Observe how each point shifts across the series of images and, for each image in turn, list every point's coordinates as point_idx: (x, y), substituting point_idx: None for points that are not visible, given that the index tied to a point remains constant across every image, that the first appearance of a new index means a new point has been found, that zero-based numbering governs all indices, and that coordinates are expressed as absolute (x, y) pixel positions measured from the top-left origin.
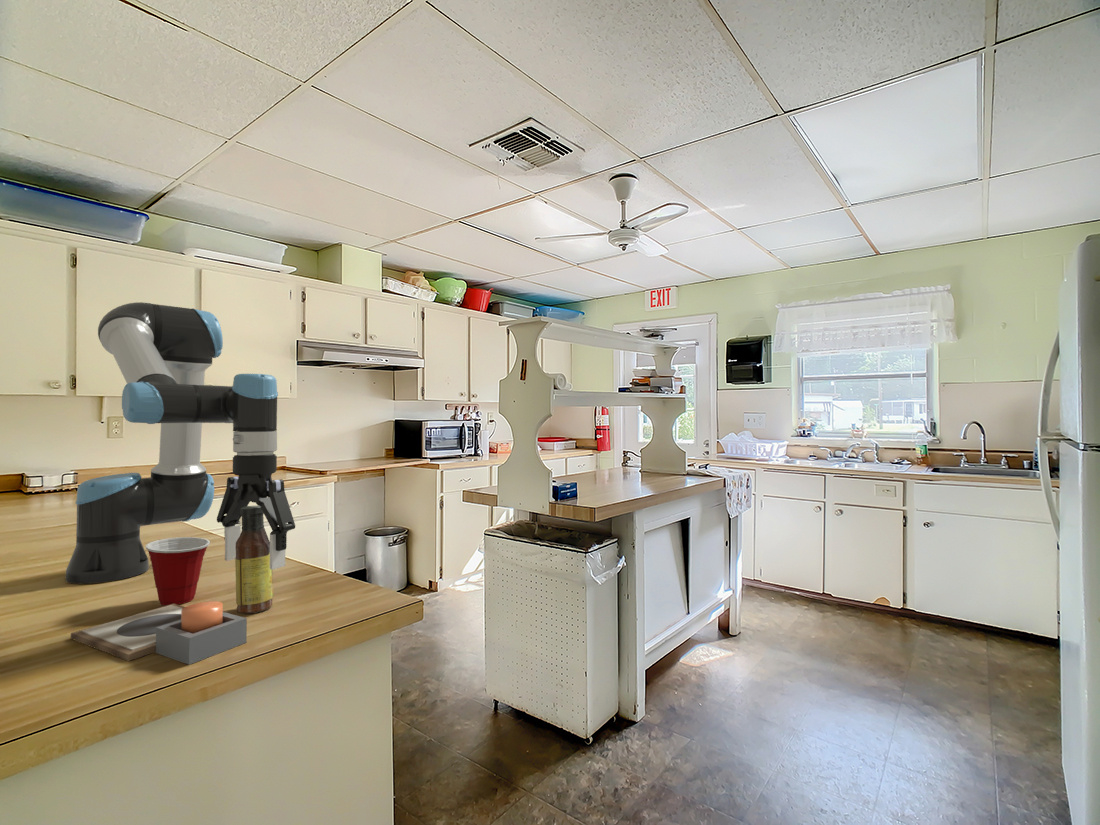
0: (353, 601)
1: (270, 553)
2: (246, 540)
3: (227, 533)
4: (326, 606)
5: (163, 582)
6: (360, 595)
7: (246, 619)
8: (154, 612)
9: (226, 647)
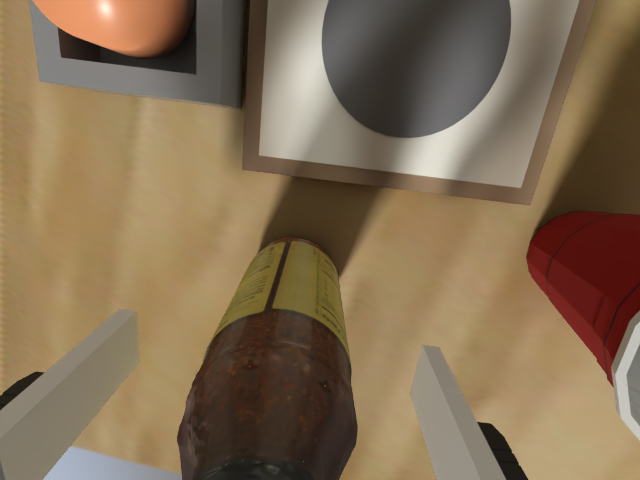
0: (119, 386)
1: (86, 352)
2: (225, 391)
3: (469, 457)
4: (146, 344)
5: (629, 219)
6: (140, 420)
7: (42, 81)
8: (513, 121)
9: None
